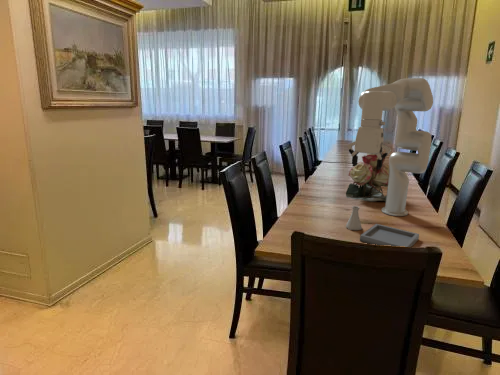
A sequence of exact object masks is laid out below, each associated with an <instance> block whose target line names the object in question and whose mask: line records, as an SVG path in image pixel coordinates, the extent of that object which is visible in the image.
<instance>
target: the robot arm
mask: <svg viewBox="0 0 500 375" xmlns="http://www.w3.org/2000/svg"><path fill="white" fill-rule="evenodd" d="M432 92H433V91H432V88H431V84H429V81H428V80H427V79H425V78H423V77H415V78H414V77H412V78H411V77H408V78H401V79H397V80H396V81H394V82H392V83H387V84H383V85H379V86H374V87H371V88H367V89H365V90H364V91H362V92H360V93H361V94H360V95H359V97H358V106H359V108H360V109H361V118H360V126H359V127H358V129H357V131H356V135H355V136H356V137H355V140H354V141H353V142H349V143H348V144H346V147H347V150H348V153H349V154H350V156H351V157H352V158H351V164H352V167H354V166H356V165H357V163H358V161H359V160H358V158H359V156H358V154H360V153H361V154H367V153H368V154H376V155H377V157H378V160H377V166H376V169H377V170H379V169H381V167H382V163H383V164H384V162H383V159H384V158H385V159H386V157H387V156H388V155H389V154H390V153H391V152H392V148H391V147H390V146H388V145H387V144H385V143H384V141H385V140H384V139H385V136H384V135H385V134H384V128H383V127H382V126H386V121H383V112H384V111H385V112H386V111H387V112H388V111H392V110H393V109H394V110H395V112H396V115H397V119H398V120H397V129H396V135H395V144H394V145H395V147H396V148H398V149H401V150H406V151H407V150H408V151H409V150H410V151H416V152H417V153H415V152H406V151H394V152H392V153H391V154H390V155H389V158H388V166H389V180H388V187H387V189H386V196H387V197H386V202H385V205H384V206H383V207H381V212H382V213H383V214H386V215H388V216H389V215H390V216H393V217H395V216H396V217H404V216H405V217H406V216H408V214H409V211H408V210H407V209H406V207H407V198H408V192H409V191H408V190H409V184H410V183H409V182H410V180H409V176H408V175H407V173H411V174H418V175H419V174H424V173H425V172H426V170H427V168H428V163H429V159H430V152H431V148H432V147H431V146H432V134H431V133H430V132H428V131H426V130H417V126H418V118H417V115H416V114H415V113H414V112H428V111H429V110H431V109H432V108H433V104H434V96H433V93H432ZM353 146H354V149H353ZM384 150H385V151H384ZM382 152H384V154H382Z"/></svg>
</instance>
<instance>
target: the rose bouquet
mask: <svg viewBox="0 0 500 375" xmlns="http://www.w3.org/2000/svg"><path fill="white" fill-rule="evenodd" d="M384 153H385V151H383V152H382V154H384ZM361 159H362V161H360V162H357V165H356V166H352V167H351V168H350V170H349V171H348V174H347V176H348V177H350V178H351V180H352V181H353V182H352V183H351V182H350V183H349V184H348V186H347V189H346V192H345V197H346V198H347V199H352V200H363V201H365V202H377V201H384V202H385V203H386V197H387V195H384V192H383V188H384V187H385V188H388V180H389V164H385V163H384V162H385V160H386V157H385V158H384V159H383V163H382V167H381V169H379V170H377V169H376V166H377V160H378V157H377V155H376V154H368V153H366V154H364V155H363V156H361ZM382 187H383V188H382Z"/></svg>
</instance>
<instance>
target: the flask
mask: <svg viewBox="0 0 500 375" xmlns="http://www.w3.org/2000/svg"><path fill="white" fill-rule="evenodd" d="M351 210H352V211H351V215H350V217H349V219H348V221H347V222H346V225H345V228H346V229H348V230H351V231H361V230H362V229H363V228H362V223H361V220H360V215H359V211H360V207H359V206H358V205H353V206H351Z"/></svg>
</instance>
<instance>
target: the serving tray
mask: <svg viewBox="0 0 500 375" xmlns="http://www.w3.org/2000/svg"><path fill="white" fill-rule="evenodd" d="M419 238H420V233H416V232H412V231H409V230H408V231H407V230H404V229H400V228H396V227H391V226H387V225H384V224H379V223H375V224H374V225H372V226H371V227H370V228H368V229H367V230H365V231H363V233H361V235H360V236H359V242H363V243H366V244H369V243H370V244H369V245H372V244H377V245H391V246H405V247H411V246H412V247H413V246H414V245H415V244H416V243H417V242H418V241H419ZM412 247H411V248H412Z"/></svg>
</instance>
